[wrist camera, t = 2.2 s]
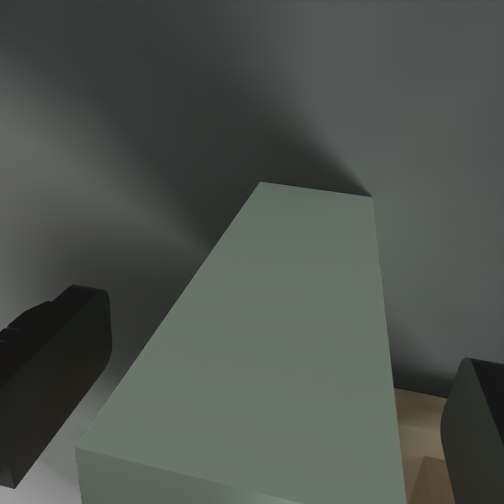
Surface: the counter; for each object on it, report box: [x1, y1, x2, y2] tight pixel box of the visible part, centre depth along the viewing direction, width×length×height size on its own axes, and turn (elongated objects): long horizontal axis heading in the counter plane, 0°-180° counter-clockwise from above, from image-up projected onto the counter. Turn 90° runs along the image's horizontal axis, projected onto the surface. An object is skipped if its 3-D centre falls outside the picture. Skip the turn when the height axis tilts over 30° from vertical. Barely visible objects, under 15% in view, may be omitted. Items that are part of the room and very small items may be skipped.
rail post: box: [75, 182, 407, 504], centre depth 11 cm, size 4×4×12 cm
